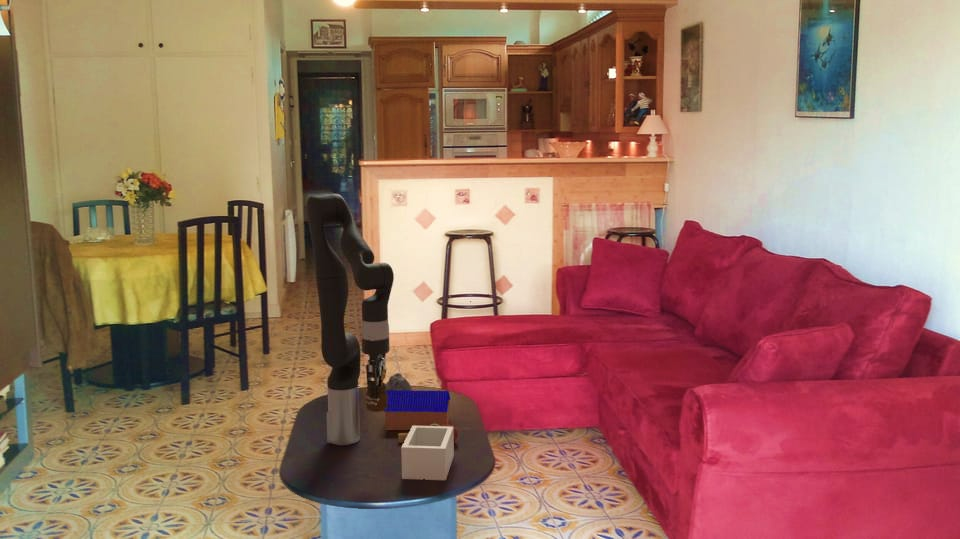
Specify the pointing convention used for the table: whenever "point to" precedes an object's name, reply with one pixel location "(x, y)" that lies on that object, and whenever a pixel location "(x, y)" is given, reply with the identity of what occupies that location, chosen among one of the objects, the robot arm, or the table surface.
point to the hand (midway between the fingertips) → (376, 394)
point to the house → (416, 409)
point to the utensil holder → (382, 399)
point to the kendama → (403, 435)
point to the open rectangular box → (427, 452)
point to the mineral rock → (398, 383)
